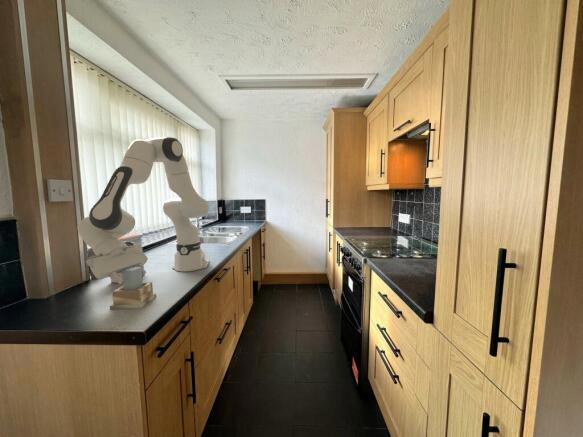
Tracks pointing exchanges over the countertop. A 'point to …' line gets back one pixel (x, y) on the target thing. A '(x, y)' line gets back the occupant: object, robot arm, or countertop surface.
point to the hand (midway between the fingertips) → (133, 278)
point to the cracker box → (131, 238)
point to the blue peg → (132, 278)
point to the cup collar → (132, 297)
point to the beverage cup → (91, 253)
